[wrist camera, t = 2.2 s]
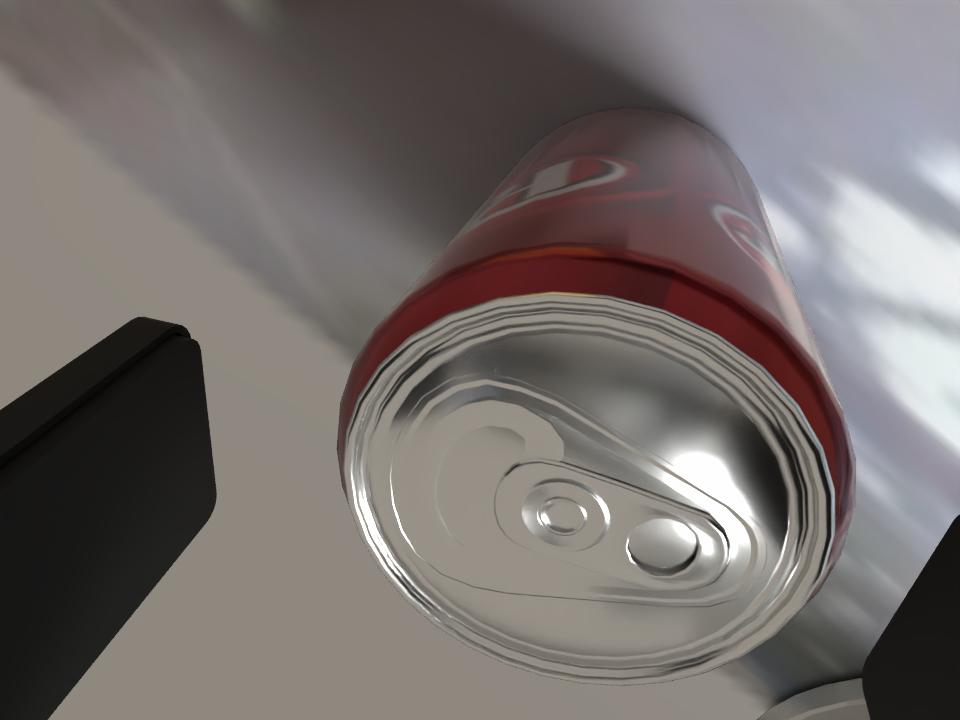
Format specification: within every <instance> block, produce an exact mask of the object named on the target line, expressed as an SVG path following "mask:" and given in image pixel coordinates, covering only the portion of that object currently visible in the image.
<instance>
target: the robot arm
mask: <svg viewBox="0 0 960 720" xmlns="http://www.w3.org/2000/svg"><path fill="white" fill-rule="evenodd" d="M215 503H216V484H215V474H214V465H213V458H212V447H211V439H210V429H209V420H208V412H207V403H206V393H205V384H204V375H203V365H202V356H201V349H200V345H199V344H198V342H197V341H196V340H194V339H191V336H190V333H189V332H188V330H187V329H186V328H185V327H184V326H182V325H178V324H173V323H169V322H165V321H160V320H156V319H151V318H147V317H137V318H135V319H133V320H131V321H129V322H128V323H126V324H125V325H123V326H122V327H121V328H119V329H118V330H116V331H115V332H113V333H112V334H110V335H109V336H107V337H106V338H105V339H103V340H102V341H100V342H99V343H97V344H96V345H94V346H93V347H91V348H90V349H89V350H87V351H86V352H84V353H83V354H81V355H80V356H78V357H77V358H76V359H74V360H73V361H71V362H70V363H68V364H67V365H65V366H64V367H62V368H61V369H59V370H58V371H57V372H55V373H54V374H52V375H51V376H49V377H48V378H46V379H45V380H43V381H42V382H40V383H39V384H38V385H36V386H35V387H33V388H32V389H30V390H29V391H28V392H26V393H24V394H23V395H22V396H20V397H19V398H17V399H16V400H14V401H13V402H11V403H10V404H8V405H7V406H6V407H4V408H3V409H1V410H0V720H48V718H49V717H50V716H51V715H52V714H53V712H54V711H55V710H56V709H57V707H58V706H59V705H60V704H61V702H62V701H63V700H64V699H65V697H66V696H67V695H68V693H69V692H70V691H71V690H72V688H73V687H74V686H75V685H76V684H77V683H78V681H79V680H80V679H81V678H82V676H83V675H84V674H85V672H86V671H87V670H88V669H89V668H90V666H91V665H92V663H94V661H95V660H96V659H97V658H98V656H99V655H100V654H101V653H102V651H103V650H104V649H105V648H106V646H107V645H108V644H109V643H110V641H111V640H112V639H113V638H114V637H115V635H116V634H117V633H118V632H119V630H120V629H121V628H122V627H123V625H124V624H125V623H126V622H127V620H128V619H129V618H130V617H131V615H132V614H133V613H134V612H135V610H136V609H137V608H138V607H139V606H140V604H141V603H142V602H143V601H144V599H145V598H146V597H147V596H148V594H149V593H150V592H151V591H152V589H153V588H154V587H155V586H156V584H157V583H158V582H159V581H160V580H161V578H162V577H163V576H164V574H165V573H166V572H167V571H168V570H169V568H170V567H171V566H172V565H173V563H174V562H175V561H176V560H177V558H178V557H179V556H180V555H181V553H182V552H183V551H184V549H185V548H186V547H187V546H188V545H189V543H190V542H191V541H192V540H193V539H194V537H195V536H196V535H197V534H198V532H199V531H200V530H201V529H202V527H203V526H204V525H205V524H206V522H207V521H208V519H209V518H210V516H211V514H212V512H213V510H214V507H215ZM757 720H960V515H958V516H957V517H956V518H955V520H954V521H953V522H952V524H951V525H950V527H949V529H948V530H947V532H946V533H945V535H944V537H943V538H942V540H941V541H940V543H939V545H938V546H937V548H936V549H935V551H934V552H933V554H932V556H931V557H930V559H929V560H928V562H927V564H926V565H925V567H924V568H923V570H922V572H921V573H920V575H919V576H918V578H917V579H916V581H915V583H914V584H913V586H912V587H911V589H910V591H909V592H908V594H907V595H906V597H905V599H904V600H903V602H902V603H901V605H900V607H899V608H898V610H897V611H896V613H895V614H894V616H893V618H892V619H891V621H890V622H889V624H888V626H887V627H886V629H885V630H884V632H883V634H882V635H881V637H880V638H879V640H878V641H877V643H876V645H875V646H874V648H873V649H872V651H871V653H870V654H869V656H868V657H867V659H866V661H865V664H864V668H863V673H862V678H858V679H852V680H847V681H842V682H837V683H832V684H826V685H823V686H820V687H817V688H814V689H811V690H808V691H805V692H803V693H800V694H797V695H794V696H793V697H791V698H789V699H787V700H785V701H783V702H782V703H780V704H778V705H776V706H774V707H772V708H771V709H769V710H768V711H767V712H765V713H764V714H763V715H762V716H761V717H760V718H758V719H757Z"/></svg>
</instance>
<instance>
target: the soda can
mask: <svg viewBox="0 0 960 720" xmlns="http://www.w3.org/2000/svg"><path fill="white" fill-rule="evenodd" d="M337 454H338V461H339V467H340V474H341V481H342V487H343V490H344V492H345V495H346V498H347V500H348V504H349V507H350V509H351V512H352V515H353V518H354V520H355V523H356V526H357V529H358V531H359V534H360V537H361V539H362V541H363V542H364V544H365V546H366V547H367V549H368V551H369V552H370V554H371V556H372V557H373V559H374V561H375V562H376V564H377V566H378V567H379V569H380V571H381V572H382V573H383V574H384V576H385V577H386V578H387V579H388V580H389V581H390V583H391V584H392V585H393V586H394V587H395V588H396V590H397V591H398V592H399V593H400V594H401V596H402V597H403V598H404V599H405V600H406V601H407V602H409V603H410V604H411V605H412V606H413V607H414V608H415V609H416V610H418V611H419V612H420V613H421V614H422V615H423V616H424V617H426V618H427V619H428V620H429V621H430V622H431V623H433V624H434V625H435V626H437V627H438V628H440V629H441V630H443V631H444V632H446V633H448V634H449V635H451V636H452V637H454V638H455V639H457V640H458V641H460V642H462V643H463V644H464V645H466V646H468V647H470V648H472V649H474V650H476V651H479V652H481V653H483V654H485V655H487V656H489V657H491V658H493V659H495V660H497V661H499V662H502V663H504V664H507V665H510V666H513V667H516V668H519V669H522V670H526V671H529V672H532V673H535V674H538V675H541V676H546V677H551V678H556V679H561V680H566V681H572V682H577V683H583V684H600V685H617V686H618V685H619V686H626V685H640V684H653V683H664V682H669V681H673V680H677V679H682V678H685V677H690V676H694V675H698V674H703V673H706V672H708V671H710V670H713V669H715V668H718V667H720V666H723V665H725V664H727V663H730V662H732V661H735V660H737V659H739V658H741V657H743V656H744V655H746V654H747V653H749V652H751V651H752V650H754V649H755V648H757V647H758V646H760V645H761V644H763V643H764V642H766V641H767V640H769V639H770V638H772V637H773V636H775V635H776V634H777V633H778V632H779V631H780V630H781V629H782V628H783V627H784V626H785V625H786V624H787V623H788V622H789V621H790V620H791V619H792V618H793V617H794V616H795V615H796V614H797V613H798V612H799V611H800V610H801V609H802V608H803V607H804V606H805V605H806V604H807V603H808V602H809V601H810V600H811V599H812V598H813V597H814V596H815V595H816V594H817V593H818V592H819V590H820V589H821V587H822V585H823V584H824V582H825V580H826V579H827V577H828V575H829V574H830V572H831V570H832V569H833V567H834V565H835V564H836V562H837V560H838V559H839V557H840V555H841V552H842V549H843V546H844V542H845V539H846V535H847V532H848V528H849V525H850V521H851V518H852V514H853V511H854V507H855V487H856V458H855V454H854V450H853V447H852V443H851V439H850V435H849V431H848V427H847V423H846V420H845V416H844V412H843V409H842V407H841V404H840V402H839V399H838V397H837V394H836V391H835V389H834V386H833V384H832V381H831V379H830V376H829V373H828V371H827V368H826V366H825V363H824V361H823V358H822V355H821V353H820V350H819V348H818V345H817V343H816V340H815V337H814V335H813V332H812V330H811V327H810V325H809V322H808V319H807V317H806V314H805V312H804V309H803V306H802V304H801V301H800V299H799V296H798V294H797V291H796V288H795V286H794V283H793V281H792V278H791V276H790V273H789V270H788V268H787V265H786V263H785V260H784V258H783V255H782V252H781V250H780V247H779V245H778V242H777V240H776V237H775V234H774V232H773V229H772V227H771V224H770V222H769V219H768V216H767V214H766V211H765V209H764V206H763V203H762V201H761V198H760V196H759V193H758V191H757V189H756V187H755V185H754V183H753V181H752V179H751V177H750V175H749V174H748V172H747V170H746V168H745V166H744V165H743V164H742V162H741V161H740V160H739V159H738V158H737V157H736V155H735V154H734V153H733V152H732V151H731V150H730V149H729V147H728V146H727V145H726V144H725V143H724V142H722V141H721V140H719V139H718V138H717V137H715V136H714V135H713V134H711V133H710V132H709V131H707V130H706V129H705V128H703V127H702V126H699V125H697V124H695V123H693V122H691V121H688V120H686V119H684V118H682V117H679V116H677V115H674V114H670V113H665V112H660V111H656V110H651V109H639V108H617V109H611V110H606V111H601V112H596V113H591V114H588V115H585V116H583V117H580V118H578V119H575V120H573V121H570V122H568V123H566V124H563V125H562V126H560V127H559V128H557V129H556V130H554V131H553V132H551V133H550V134H548V135H547V136H545V137H544V138H542V139H541V140H539V141H538V142H537V143H536V144H535V145H534V146H533V147H532V148H531V149H530V150H529V151H528V152H527V153H526V154H525V155H524V156H523V157H522V158H521V159H520V161H519V162H518V163H517V164H516V165H515V166H514V168H513V169H512V170H511V171H510V172H509V173H508V175H507V176H506V177H505V178H504V179H503V180H502V182H501V183H500V184H499V185H498V186H497V187H496V189H495V190H494V191H493V192H492V193H491V194H490V196H489V197H488V198H487V199H486V200H485V201H484V202H483V204H482V205H481V206H480V207H479V208H478V209H477V211H476V212H475V213H474V214H473V215H472V216H471V218H470V219H469V220H468V221H467V222H466V223H465V225H464V226H463V227H462V228H461V229H460V230H459V232H458V233H457V234H456V235H455V236H454V237H453V239H452V240H451V241H450V242H449V243H448V244H447V246H446V247H445V248H444V249H443V250H442V251H441V253H440V254H439V255H438V256H437V257H436V258H435V260H434V261H433V262H432V263H431V264H430V265H429V267H428V268H427V269H426V270H425V271H424V272H423V274H422V275H421V276H420V277H419V278H418V279H417V281H416V282H415V283H414V284H413V285H412V286H411V288H410V289H409V290H408V291H407V292H406V293H405V295H404V296H403V297H402V298H401V299H400V300H399V302H398V303H397V304H396V305H395V306H394V307H393V309H392V310H391V311H390V312H389V313H388V314H387V316H386V317H385V318H384V319H383V320H382V321H381V323H380V324H379V325H378V326H377V327H376V328H375V330H374V331H373V333H372V335H371V336H370V338H369V339H368V341H367V343H366V344H365V346H364V347H363V349H362V351H361V352H360V354H359V355H358V357H357V359H356V360H355V362H354V363H353V366H352V369H351V372H350V375H349V378H348V381H347V384H346V387H345V390H344V393H343V396H342V399H341V403H340V415H339V428H338V440H337Z"/></svg>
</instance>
